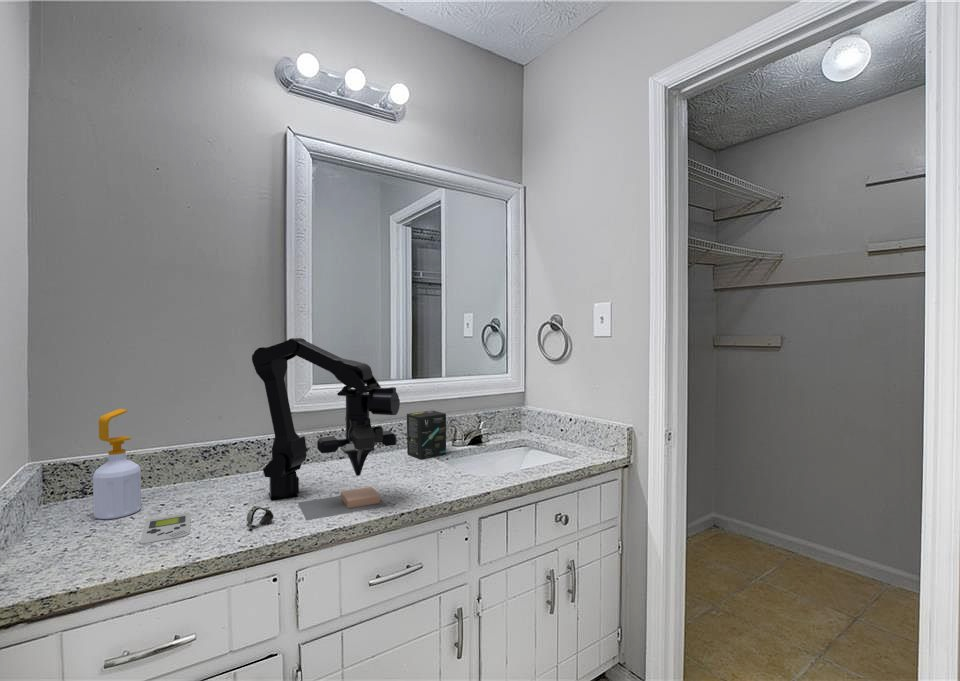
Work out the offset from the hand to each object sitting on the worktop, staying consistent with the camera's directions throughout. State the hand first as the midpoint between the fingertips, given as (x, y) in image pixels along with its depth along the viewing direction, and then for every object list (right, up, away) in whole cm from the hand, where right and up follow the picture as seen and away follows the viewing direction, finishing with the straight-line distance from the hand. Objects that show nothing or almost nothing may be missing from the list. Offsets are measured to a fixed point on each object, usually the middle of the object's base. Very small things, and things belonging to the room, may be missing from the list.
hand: (357, 475), depth 123 cm
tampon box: (+12, -6, +48) cm, 50 cm away
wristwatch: (-18, -8, -14) cm, 24 cm away
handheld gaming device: (-38, -8, -15) cm, 42 cm away
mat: (-3, -7, -2) cm, 8 cm away
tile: (-3, -6, -2) cm, 7 cm away
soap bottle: (-56, -7, -6) cm, 56 cm away
